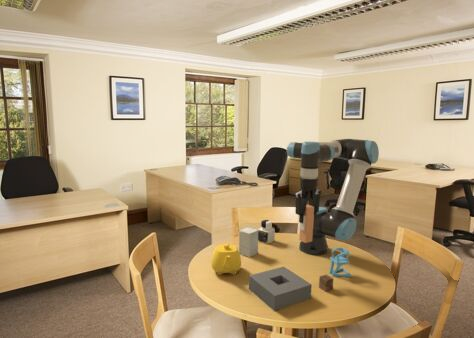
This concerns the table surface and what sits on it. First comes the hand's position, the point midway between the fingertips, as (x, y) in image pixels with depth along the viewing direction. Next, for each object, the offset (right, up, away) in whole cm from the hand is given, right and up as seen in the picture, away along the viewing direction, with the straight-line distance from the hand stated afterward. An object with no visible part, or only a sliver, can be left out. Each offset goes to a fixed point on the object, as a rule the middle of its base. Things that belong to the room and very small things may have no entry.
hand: (306, 228), depth 153 cm
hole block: (-14, -24, -13) cm, 31 cm away
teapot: (-36, -21, +5) cm, 42 cm away
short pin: (+6, -24, -8) cm, 26 cm away
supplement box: (-25, -18, +26) cm, 40 cm away
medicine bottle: (-14, -15, +43) cm, 48 cm away
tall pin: (0, -6, +1) cm, 6 cm away
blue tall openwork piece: (+16, -22, +5) cm, 28 cm away
